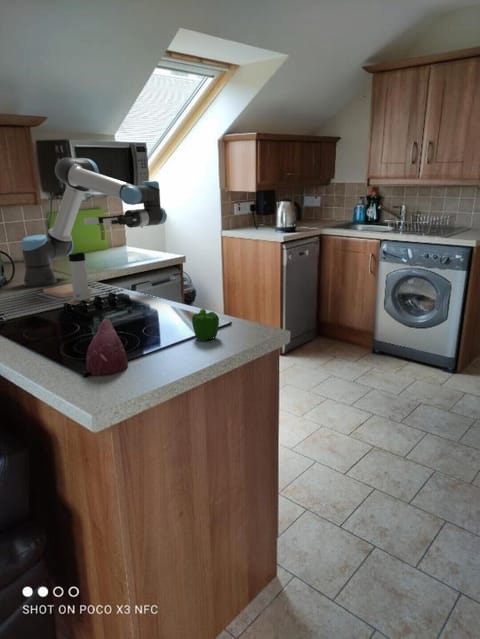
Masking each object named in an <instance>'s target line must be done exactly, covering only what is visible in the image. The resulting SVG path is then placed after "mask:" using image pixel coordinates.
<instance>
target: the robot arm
mask: <svg viewBox="0 0 480 639" xmlns="http://www.w3.org/2000/svg"><path fill="white" fill-rule="evenodd" d="M54 173H55V176H56V177H57V179H58V180H59V181H60V182H62V183H63V184H65V185H66V187H65V190H64V193H63V196H62V199H61V202H60V205H59V209H58V212H57V215H56V218H55V220H54V224H53V227H51V228H49V229H48V230H47V231H48V232H47V234H46V235H45V234H34V235H29V236H25V237H24V238H22V240H21V250H22V256H23V257H22V258H23V262H24V270H25V271H24V275H23V282H22V283H23V286H24V287H29V288H36V287H38V288H39V287H45V286H47V287H48V286H51V285H56V283H57V281H58V280H57V277H56V275H55V273H54V271H53V269H52V266H51V261H52V260H53V261H54V260H58V259H63V258H66V257H69V254H73V250H74V241H73V236H72V235H71V233H72V230H73V227H74V224H75V222H76V219H77V215H78V213H79V211H80V207H81V205H82V202H83V199H84V196H85V194H86V193H87V192H88V193H89V192H90V190H91V191H93V192H96V193H97V192H98V193H100V194H103V195H106V196H109V197H112V198H115V199H118V200H121V201H122V202H123V203H124V204H126V205H131V206H135V205H141V204H143V208H137V209H127V210H126V211H125V212H124V214H115V215H112V216H95V217H83V224H84V225H85V226H87V225H95V224H96V225H97V226H99V225H100V224H103V227H111V226H118V225H120V226H121V225H124V226H125V225H126V227H128V228H131V229H132V228H139V227H140V228H141V229H142V228H144V227H151V226H159V225H163V224H165V223H166V221H167V217H168V214H167V212H166V210H165V209H164V208H163V207H162V206H161V191H160V190H161V189H160V184H159V181H157V180H145V181H142V183H141V185H135V184H131V183H128V182H125V181H122V180H119V179H117V178H113V177H109V176H107V175H104V174H101V173H100V170H99V168H98V165H97V164H96V163H95V162H94V161H93V160H92V159H90V158H85V157H63V158H61V159H59V160H58V161H57V162H56V164H55V167H54Z"/></svg>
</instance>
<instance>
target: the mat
mask: <svg viewBox="0 0 480 639" xmlns="http://www.w3.org/2000/svg"><path fill="white" fill-rule="evenodd" d="M91 289H92V292H90V293H89V294H90V295H92V294H96V293H100V292H105V290H104V289H100V288H95V287H91ZM36 295H38V296H42V297H44V298H45V297H46V298H49V299H51V300H57V301H63V300H67V299H69V300H70V299H74V296H71V297H66V298H61V297H57V296H53V295H49V294H45V293H44V292H40V293H36Z"/></svg>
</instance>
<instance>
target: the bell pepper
mask: <svg viewBox="0 0 480 639" xmlns="http://www.w3.org/2000/svg"><path fill="white" fill-rule="evenodd" d="M191 320H192V328H193V333H194V334H195V337H196V336H197V337H196V338H197V340H199V339H200V340H199V341H201V340H208V339H211V338H213V337H215V338H216V337H217V335H218V332H219V325H220V318H219V316H218V314H216V313H215V312H214V311H211V312H208V313H207V310H206V309H205V308H201V309H200V310H199V312H198V313H192V317H191ZM213 339H214V338H213ZM211 340H212V339H211ZM208 341H209V340H208Z"/></svg>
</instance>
